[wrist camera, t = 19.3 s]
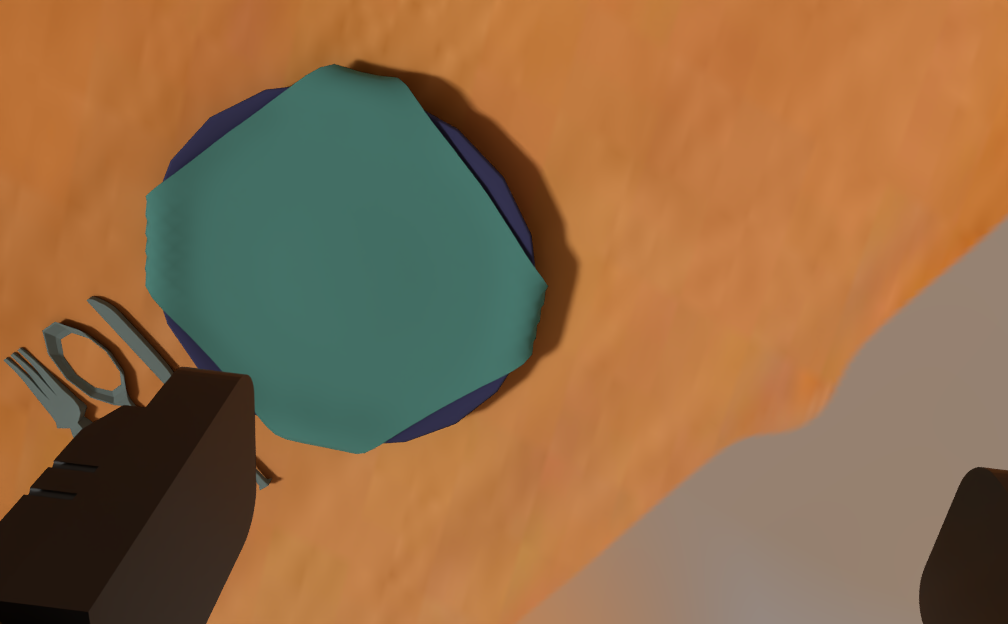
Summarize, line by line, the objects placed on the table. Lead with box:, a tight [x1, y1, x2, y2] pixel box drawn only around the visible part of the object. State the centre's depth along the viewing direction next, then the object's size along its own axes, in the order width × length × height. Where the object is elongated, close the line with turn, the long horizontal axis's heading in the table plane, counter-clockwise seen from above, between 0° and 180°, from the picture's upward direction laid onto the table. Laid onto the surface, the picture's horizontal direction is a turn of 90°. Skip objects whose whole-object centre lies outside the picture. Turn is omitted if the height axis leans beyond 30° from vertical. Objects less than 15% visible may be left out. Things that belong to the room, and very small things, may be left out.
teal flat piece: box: [4, 64, 548, 490], centre depth 46 cm, size 20×30×2 cm, turn 124°
